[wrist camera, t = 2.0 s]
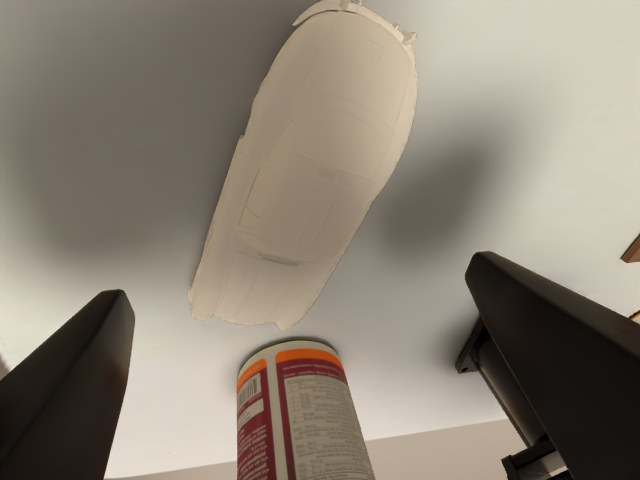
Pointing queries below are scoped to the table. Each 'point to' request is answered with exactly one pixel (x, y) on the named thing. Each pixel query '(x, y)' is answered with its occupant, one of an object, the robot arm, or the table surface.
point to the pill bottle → (298, 417)
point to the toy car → (307, 165)
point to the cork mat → (633, 253)
